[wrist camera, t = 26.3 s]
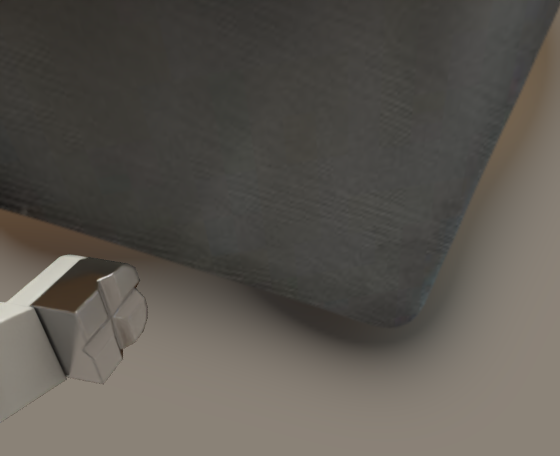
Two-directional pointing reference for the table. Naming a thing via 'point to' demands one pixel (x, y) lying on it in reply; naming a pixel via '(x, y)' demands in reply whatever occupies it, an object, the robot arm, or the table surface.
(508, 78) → the table surface
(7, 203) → the table surface
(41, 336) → the robot arm
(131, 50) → the table surface
